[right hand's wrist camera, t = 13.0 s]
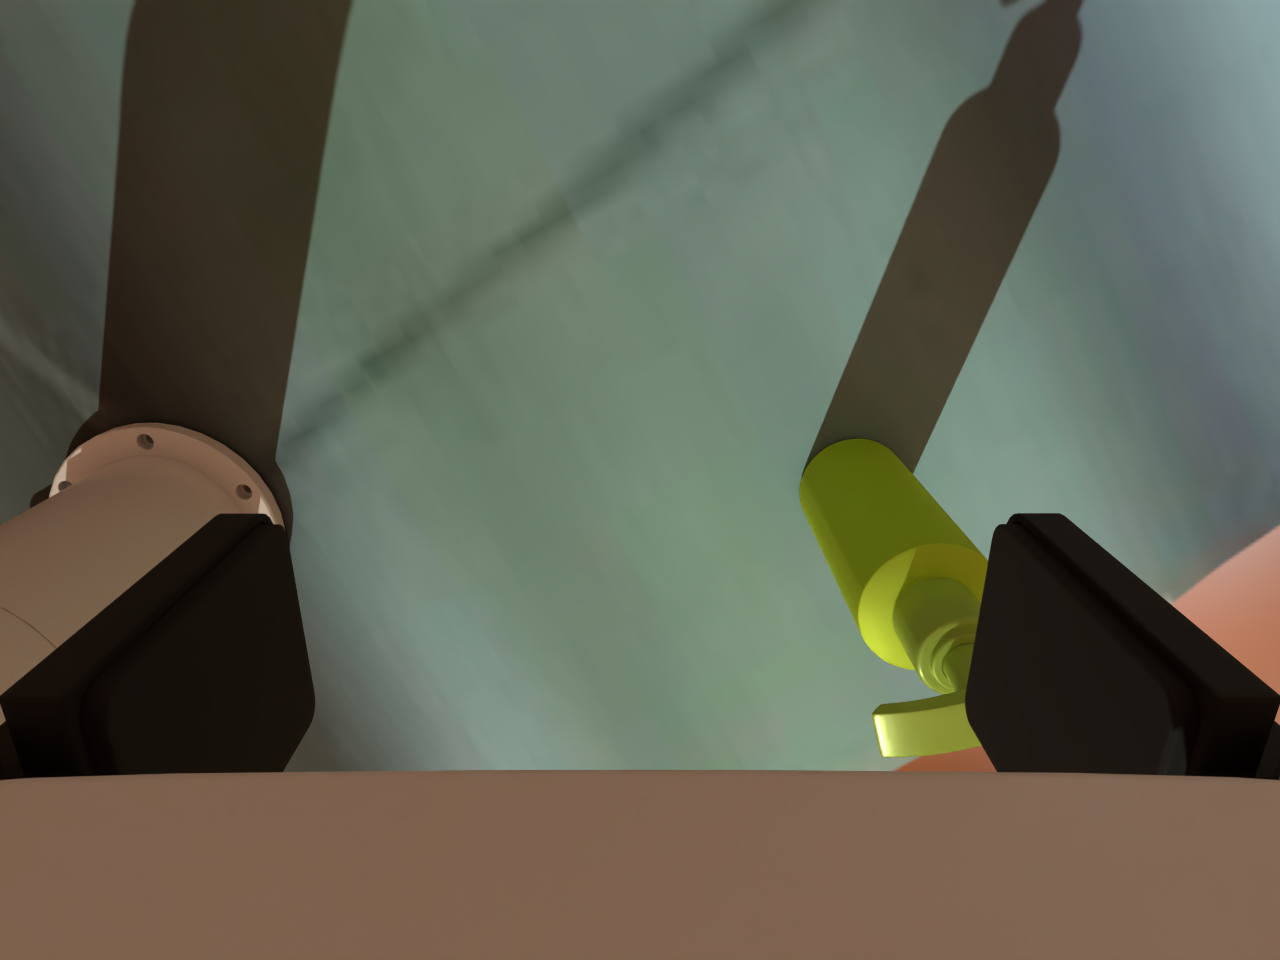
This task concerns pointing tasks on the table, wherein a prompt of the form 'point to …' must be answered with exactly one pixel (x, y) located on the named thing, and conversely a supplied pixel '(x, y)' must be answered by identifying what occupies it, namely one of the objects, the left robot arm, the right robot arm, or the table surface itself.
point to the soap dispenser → (900, 586)
